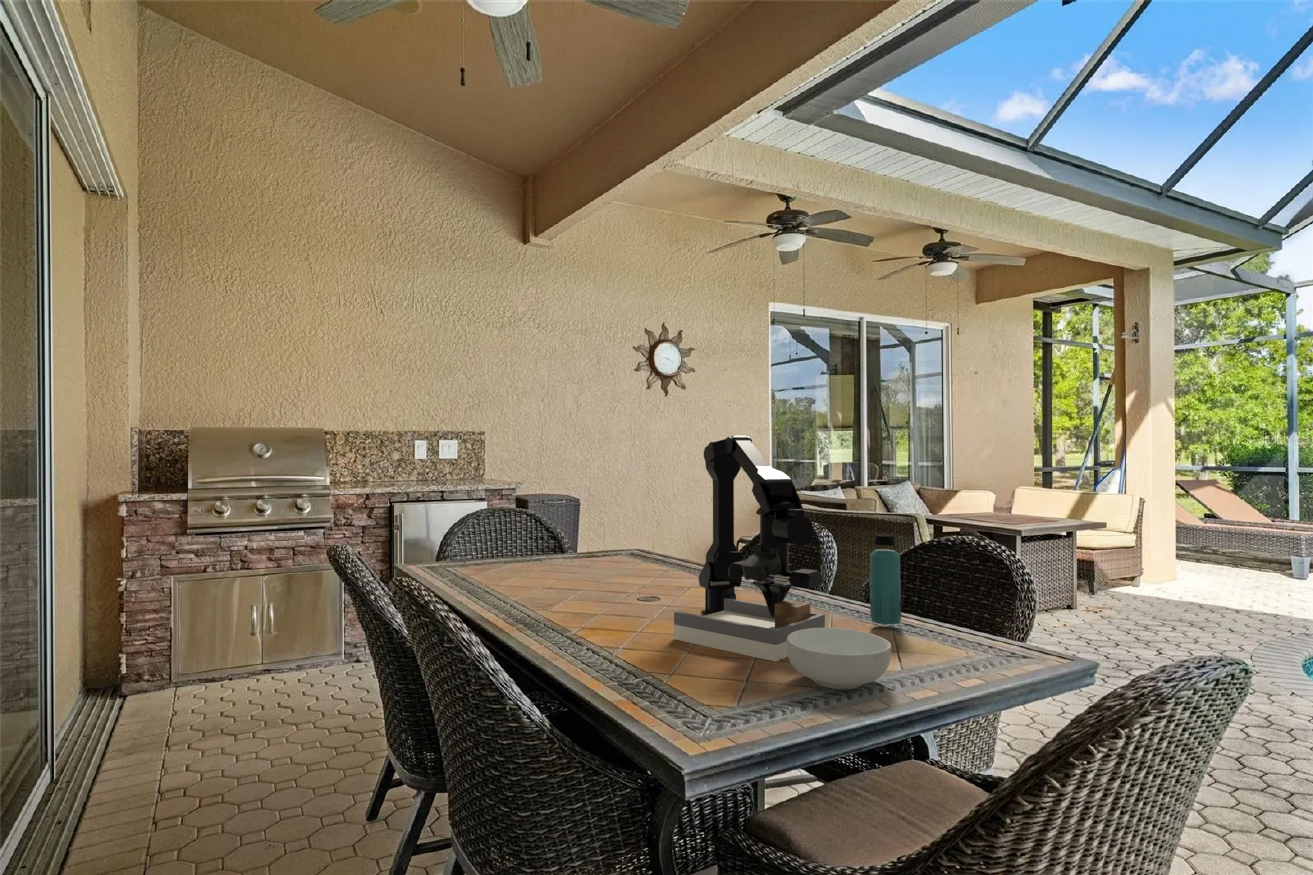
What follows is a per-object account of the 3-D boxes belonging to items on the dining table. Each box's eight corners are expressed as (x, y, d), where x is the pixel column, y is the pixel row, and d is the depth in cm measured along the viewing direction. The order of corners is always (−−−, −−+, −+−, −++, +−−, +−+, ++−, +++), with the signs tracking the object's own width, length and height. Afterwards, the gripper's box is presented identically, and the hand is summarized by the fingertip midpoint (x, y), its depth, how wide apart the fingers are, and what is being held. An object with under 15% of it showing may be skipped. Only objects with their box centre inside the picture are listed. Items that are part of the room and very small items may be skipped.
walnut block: (774, 629, 150) (774, 603, 150) (788, 624, 154) (788, 599, 154) (796, 633, 147) (797, 607, 147) (810, 628, 151) (810, 603, 151)
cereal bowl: (815, 703, 117) (815, 656, 117) (770, 671, 133) (770, 630, 133) (912, 693, 121) (912, 648, 121) (857, 664, 137) (857, 624, 137)
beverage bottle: (905, 631, 161) (905, 536, 161) (873, 631, 161) (873, 536, 161) (896, 624, 167) (896, 532, 167) (865, 624, 167) (865, 532, 167)
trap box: (674, 639, 154) (674, 611, 154) (726, 623, 168) (726, 598, 168) (775, 661, 139) (775, 631, 139) (824, 642, 152) (824, 614, 152)
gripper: (712, 538, 154) (712, 616, 154) (793, 548, 141) (792, 632, 141) (744, 533, 162) (744, 607, 162) (823, 542, 150) (822, 622, 150)
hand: (773, 617), depth 154 cm, fingers closed
